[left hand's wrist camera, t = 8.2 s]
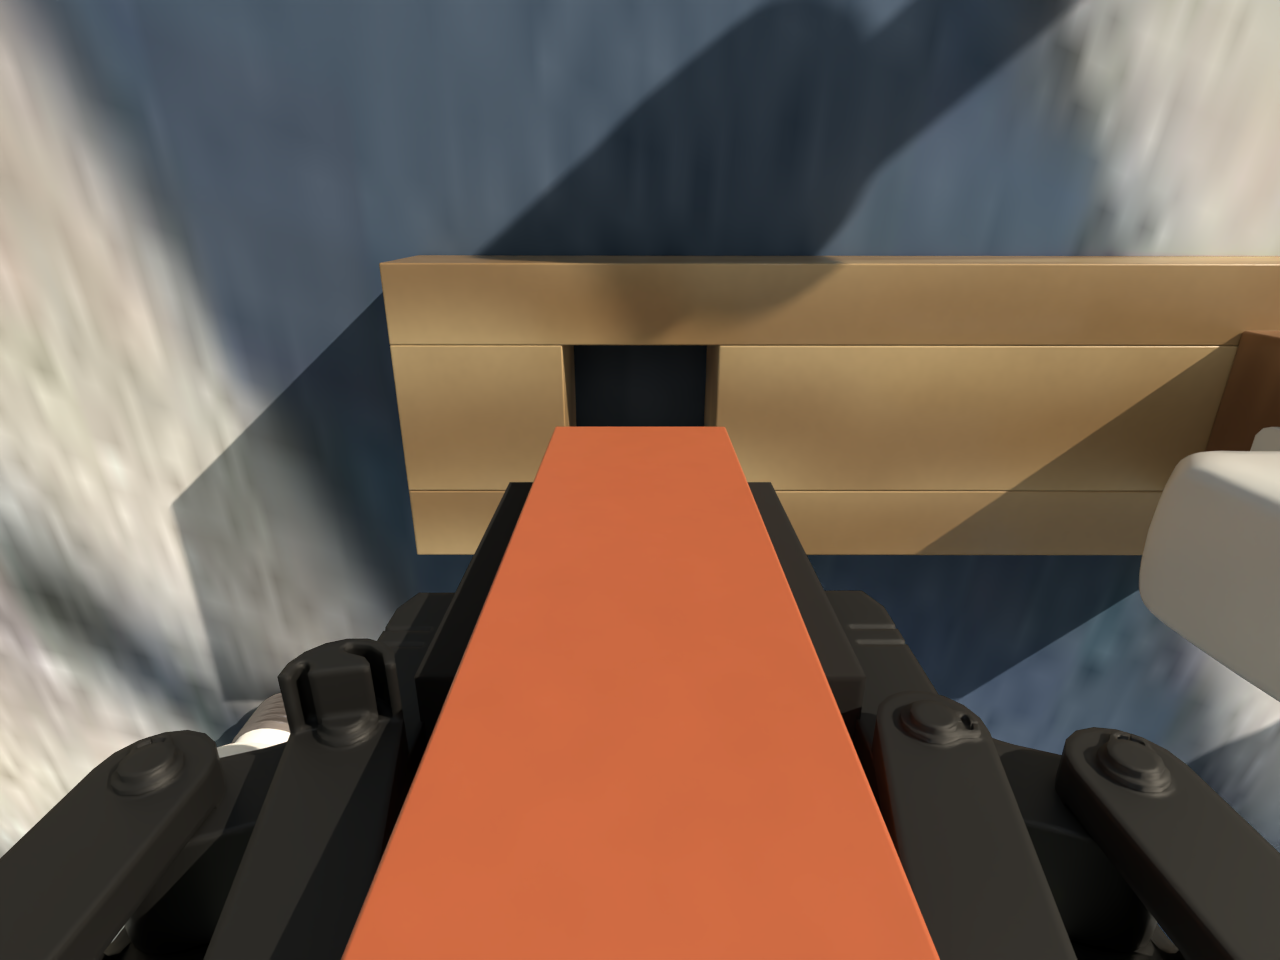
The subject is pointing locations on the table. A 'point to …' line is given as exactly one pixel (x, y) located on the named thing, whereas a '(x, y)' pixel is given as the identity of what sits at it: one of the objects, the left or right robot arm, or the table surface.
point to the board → (856, 384)
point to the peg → (640, 743)
